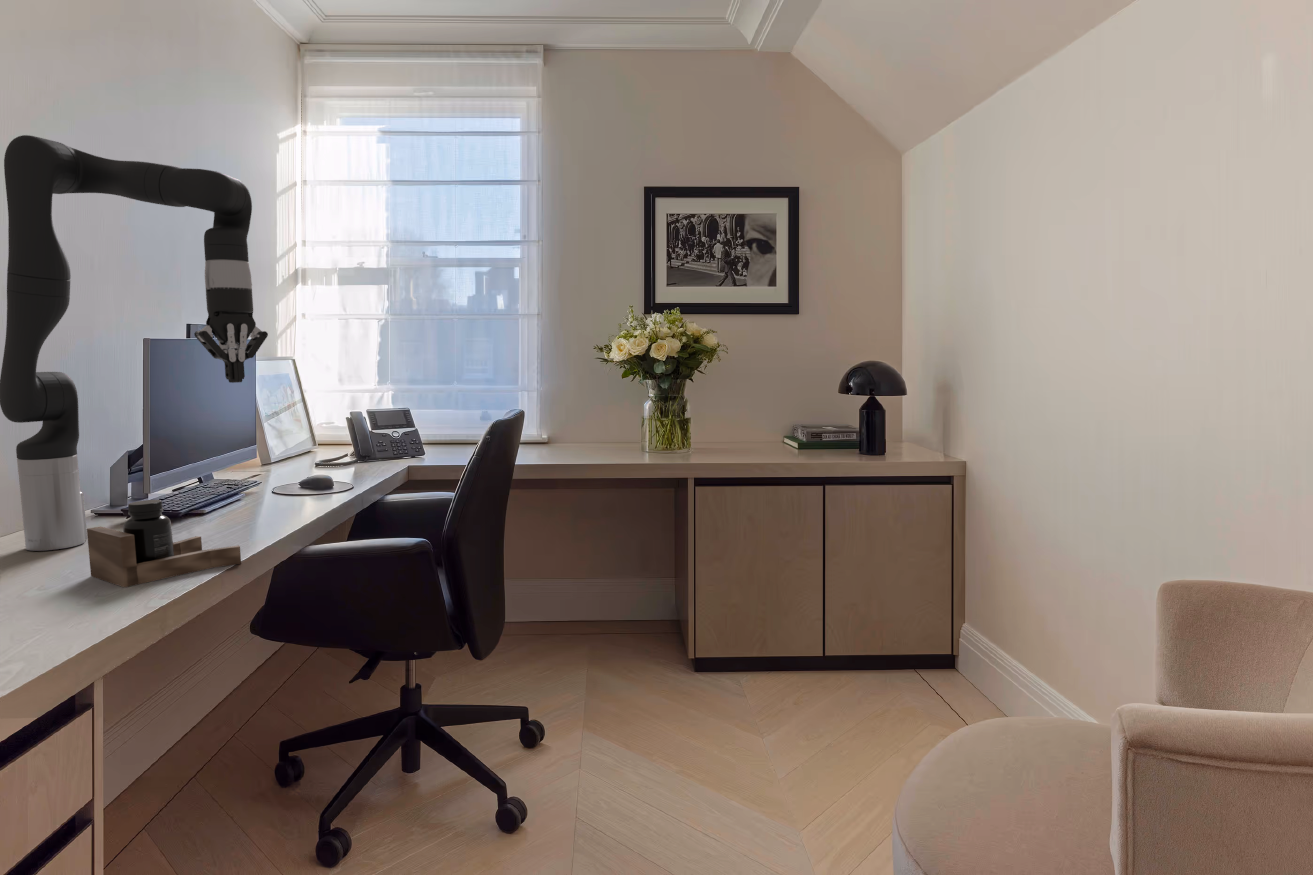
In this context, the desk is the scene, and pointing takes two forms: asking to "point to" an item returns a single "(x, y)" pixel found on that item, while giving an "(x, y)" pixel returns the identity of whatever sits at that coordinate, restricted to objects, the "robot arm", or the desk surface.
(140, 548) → the supplement bottle
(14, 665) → the desk surface
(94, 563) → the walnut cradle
